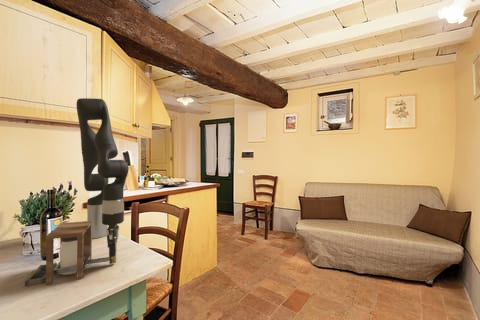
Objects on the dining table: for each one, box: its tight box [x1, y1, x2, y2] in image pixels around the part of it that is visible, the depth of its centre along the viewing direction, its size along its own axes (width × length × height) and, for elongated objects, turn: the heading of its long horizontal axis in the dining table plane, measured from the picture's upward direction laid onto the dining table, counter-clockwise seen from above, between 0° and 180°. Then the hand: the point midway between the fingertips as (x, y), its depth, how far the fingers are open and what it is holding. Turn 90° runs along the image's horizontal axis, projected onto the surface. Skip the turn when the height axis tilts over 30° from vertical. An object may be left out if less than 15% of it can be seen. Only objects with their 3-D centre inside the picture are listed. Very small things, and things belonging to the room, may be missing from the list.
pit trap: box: [24, 262, 58, 287], centre depth 80 cm, size 12×5×2 cm, turn 23°
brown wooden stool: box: [45, 220, 93, 285], centre depth 84 cm, size 16×10×16 cm, turn 23°
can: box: [59, 236, 77, 276], centre depth 84 cm, size 6×6×12 cm
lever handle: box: [53, 237, 117, 275], centre depth 86 cm, size 9×19×10 cm, turn 113°
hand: (112, 254), depth 89 cm, fingers closed on lever handle, 2 cm apart
